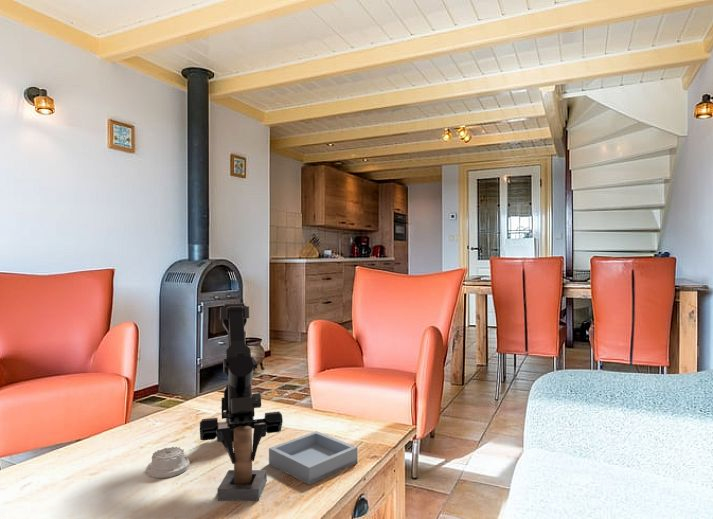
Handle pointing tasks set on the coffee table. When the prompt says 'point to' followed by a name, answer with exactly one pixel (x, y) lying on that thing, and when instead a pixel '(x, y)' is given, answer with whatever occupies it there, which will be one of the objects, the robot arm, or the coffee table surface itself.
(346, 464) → the tray
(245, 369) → the robot arm
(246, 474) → the pin
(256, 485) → the gray square socket plate
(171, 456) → the mechanical component
